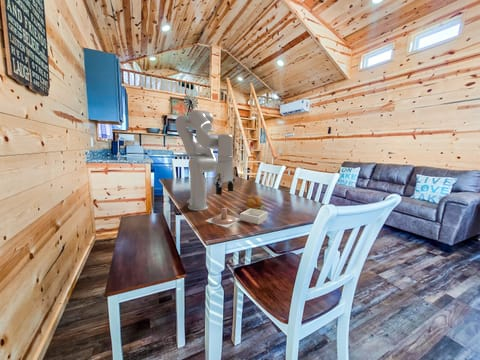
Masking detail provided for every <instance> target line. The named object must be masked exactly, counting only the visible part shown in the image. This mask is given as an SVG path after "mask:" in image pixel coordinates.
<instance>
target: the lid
mask: <svg viewBox="0 0 480 360" xmlns="http://www.w3.org/2000/svg"><path fill="white" fill-rule="evenodd" d="M220 211H221V212H220V214H221V215H220V214H218V215H215V216H213V217H212V218H213V219H212V220H213V222H214V223H217V224H231V223H233V222H235V216H234V215H229V214H228V208H227V207H222V208H221V209H220ZM217 224H216V225H217Z"/></svg>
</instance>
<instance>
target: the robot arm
mask: <svg viewBox="0 0 480 360" xmlns="http://www.w3.org/2000/svg"><path fill="white" fill-rule="evenodd" d="M213 117H214V116H213V115H212V113H211V112H209V111H205V110H199V109H194V110H193V109H192V110H190V112H189V113H188V115H185V114H183V115H178V116H177V117H176V118H175V129H176V132H177V135H178V137H179V138H180V139H181V141H182V145H183V147H184V150H185V153H186V155H187V156H188V158H190V159H189V160H188V163H187V164H188V170H189V178H190V182H189V183H190V184H189V185H190V198H189V199H188V200H187V201H186V203H189V205H188V206H187V209H189V210H190V211H198V212H199V211H204V210H207V209H209V205H208V204H207V179H206V176H205V175H204V173H213V172H214V171H215V173H214V174H215V175H214V177H213V179H212V181H213V184H214V186H215V194H216V195H219V196H222V195H223V187H222V185H223V183H225V184H226V183H227V192H232V193H233V192H234V184H235V180H236V174H234V164H233V162H234V155H233V154H234V151H233V150H234V136H233V135H232V134H230V133H229V134H228V133H221V134H217V133H210V131H211V130H212V125H213V122H214V118H213ZM194 130H195V134H194V133H193V132H192V131H194ZM213 150H217V159H216V156H215V154H214V152H213Z"/></svg>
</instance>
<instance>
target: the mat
mask: <svg viewBox="0 0 480 360" xmlns="http://www.w3.org/2000/svg"><path fill="white" fill-rule="evenodd" d="M219 215H221V213H220V214H219ZM234 217H235V216H234ZM212 219H213V217H211V218H208V219H206V220H205V222H208V223H210V224H214V225H217V226H221V227H224V228H229V227H230V226H232V225H234V224H236V223H238V222H240V221H241V220H240V217H235V222H233V223H231V224H217V223H214V222H213V220H212Z"/></svg>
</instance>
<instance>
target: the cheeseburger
mask: <svg viewBox="0 0 480 360" xmlns="http://www.w3.org/2000/svg"><path fill="white" fill-rule="evenodd" d="M263 205H264V204H263V203H262V200H261V198H260V197H258V196H250V197H249V198H248V199H247V200H246V203H245V206H246V210H248V209H250V208H252V209H256V210H261V211H263Z"/></svg>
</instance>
